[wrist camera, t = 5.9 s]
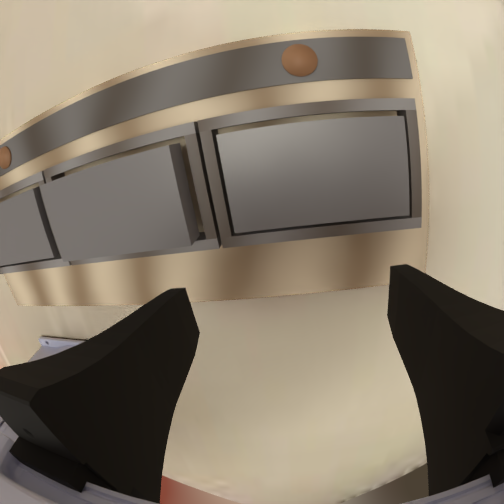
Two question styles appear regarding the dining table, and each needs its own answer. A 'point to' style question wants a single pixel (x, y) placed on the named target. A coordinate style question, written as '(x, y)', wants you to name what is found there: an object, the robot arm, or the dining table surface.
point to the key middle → (123, 206)
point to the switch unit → (211, 173)
